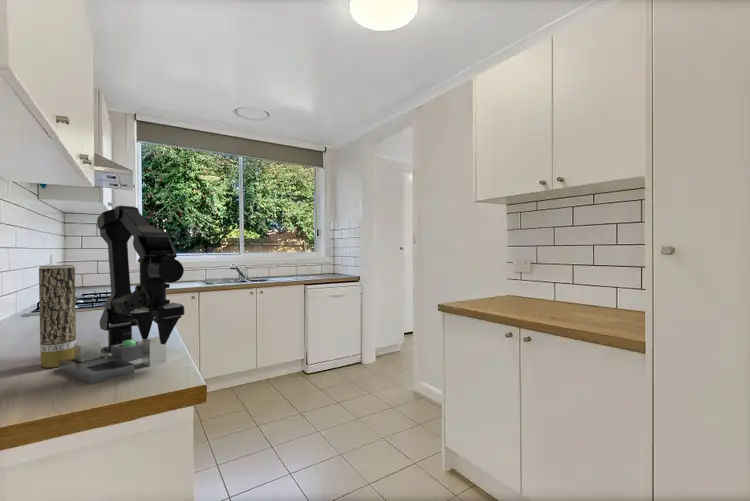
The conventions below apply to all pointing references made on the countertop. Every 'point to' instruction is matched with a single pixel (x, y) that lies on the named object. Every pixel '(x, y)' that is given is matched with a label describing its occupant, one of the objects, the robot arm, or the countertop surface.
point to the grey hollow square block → (127, 351)
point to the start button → (128, 343)
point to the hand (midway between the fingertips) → (153, 341)
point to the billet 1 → (87, 351)
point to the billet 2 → (153, 352)
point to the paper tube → (57, 314)
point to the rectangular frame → (97, 368)
